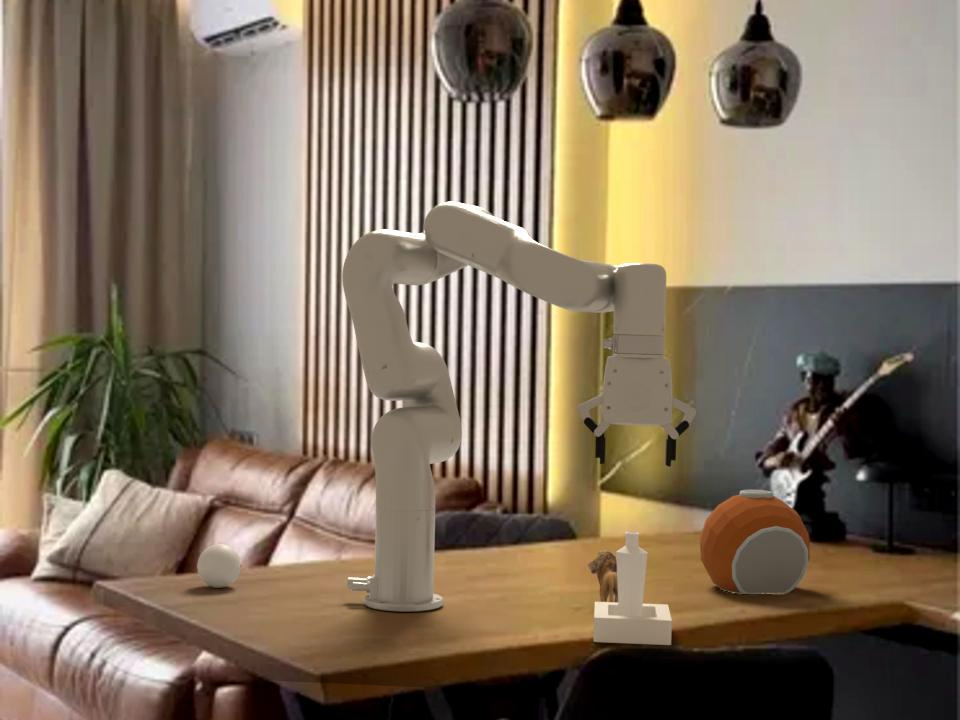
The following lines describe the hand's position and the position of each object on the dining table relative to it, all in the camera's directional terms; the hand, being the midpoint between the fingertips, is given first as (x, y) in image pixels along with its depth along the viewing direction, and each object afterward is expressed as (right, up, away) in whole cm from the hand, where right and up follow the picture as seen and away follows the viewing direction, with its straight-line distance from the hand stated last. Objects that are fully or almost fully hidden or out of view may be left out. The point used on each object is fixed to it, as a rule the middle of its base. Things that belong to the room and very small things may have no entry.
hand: (635, 464), depth 204 cm
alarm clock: (+25, -25, +40) cm, 54 cm away
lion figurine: (-2, -25, +17) cm, 30 cm away
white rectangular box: (0, -25, 0) cm, 25 cm away
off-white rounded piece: (-67, -23, +31) cm, 78 cm away
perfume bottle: (-1, -25, 0) cm, 25 cm away
